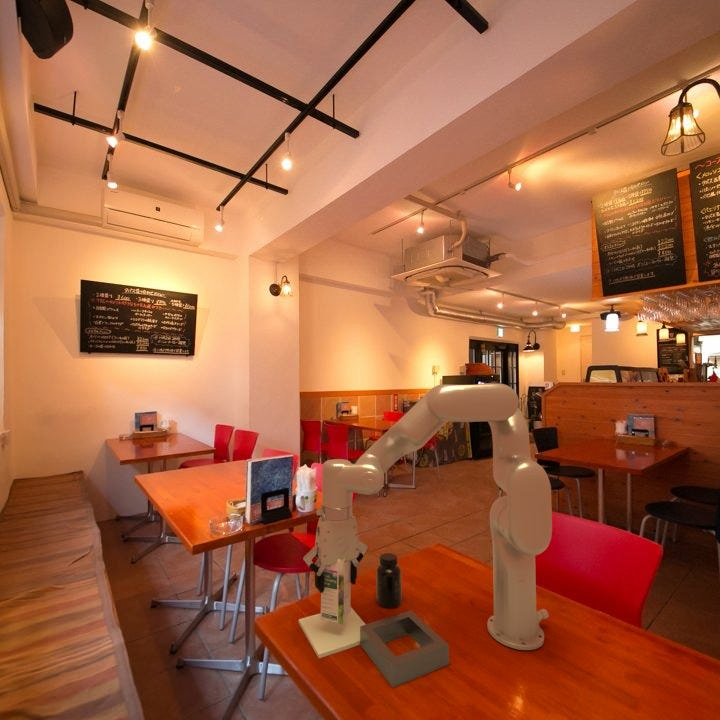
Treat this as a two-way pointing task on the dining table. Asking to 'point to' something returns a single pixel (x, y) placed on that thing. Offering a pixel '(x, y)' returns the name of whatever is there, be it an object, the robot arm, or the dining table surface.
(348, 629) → the pad
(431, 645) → the collar
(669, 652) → the dining table surface
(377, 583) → the supplement bottle
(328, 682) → the dining table surface
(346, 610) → the syrup box
